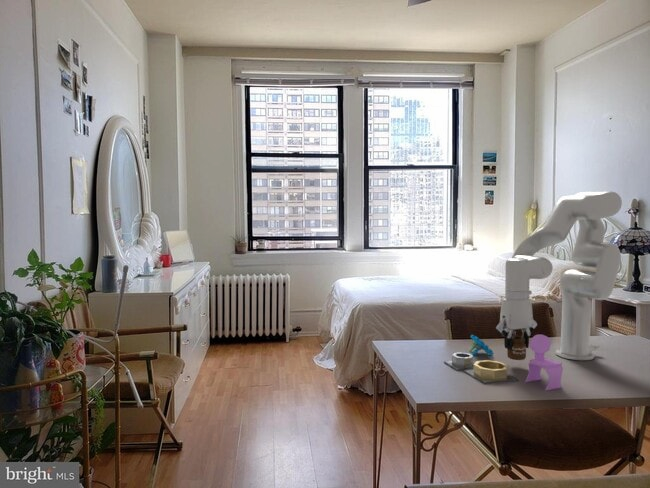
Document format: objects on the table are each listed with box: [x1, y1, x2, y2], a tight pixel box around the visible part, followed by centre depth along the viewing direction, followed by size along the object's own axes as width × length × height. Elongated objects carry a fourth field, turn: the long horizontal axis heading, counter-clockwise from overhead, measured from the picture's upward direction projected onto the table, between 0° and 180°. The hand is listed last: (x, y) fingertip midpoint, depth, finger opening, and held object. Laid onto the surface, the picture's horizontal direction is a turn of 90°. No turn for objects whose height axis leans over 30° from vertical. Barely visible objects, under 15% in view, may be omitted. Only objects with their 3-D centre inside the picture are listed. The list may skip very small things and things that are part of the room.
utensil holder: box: [506, 329, 527, 361], centre depth 175 cm, size 6×6×12 cm
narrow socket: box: [444, 352, 475, 372], centre depth 176 cm, size 9×9×4 cm
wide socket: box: [463, 359, 520, 385], centre depth 165 cm, size 12×12×4 cm
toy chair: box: [524, 334, 564, 391], centre depth 158 cm, size 8×9×15 cm
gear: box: [468, 334, 494, 356], centre depth 189 cm, size 11×6×10 cm
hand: (516, 347), depth 175 cm, fingers closed on utensil holder, 5 cm apart
